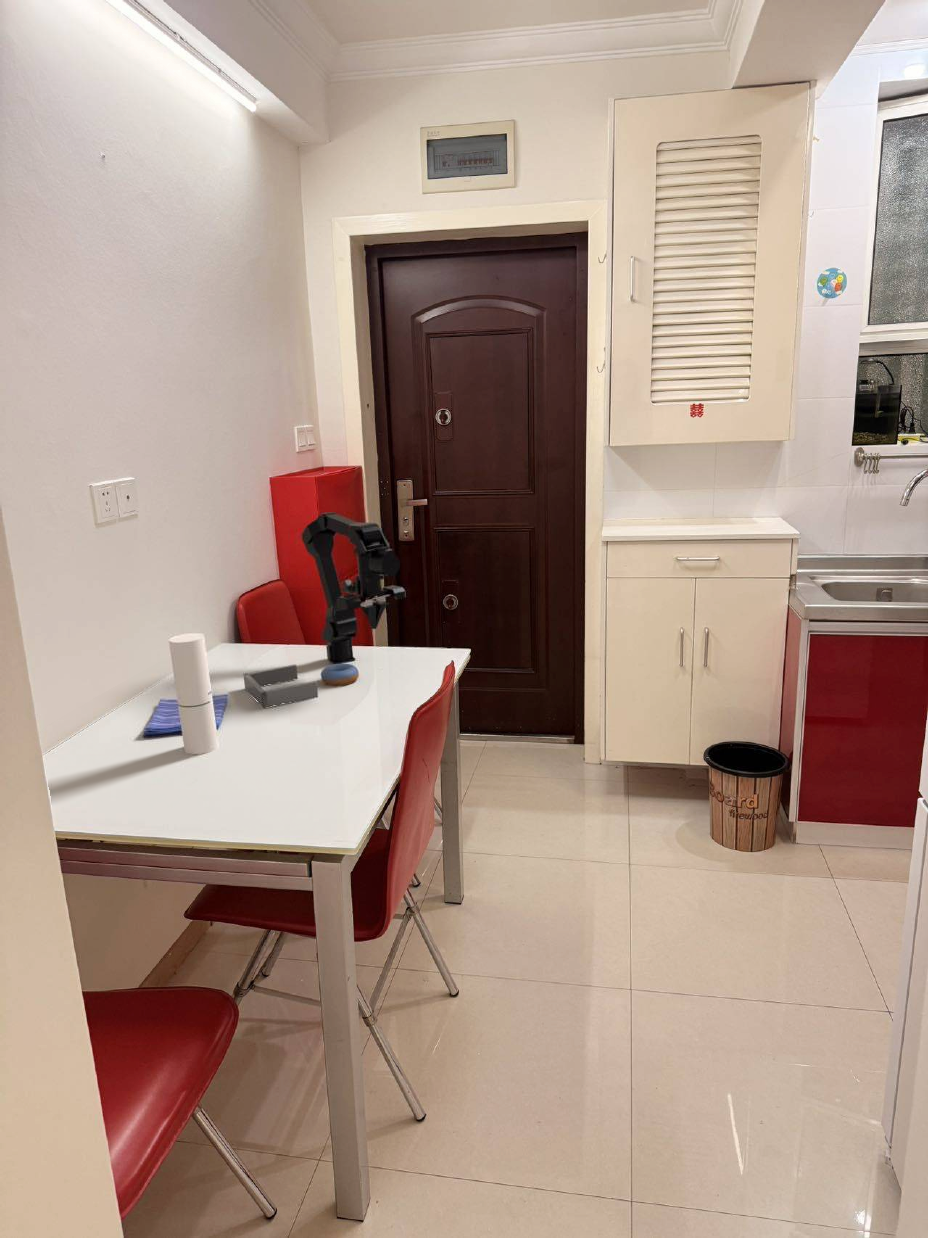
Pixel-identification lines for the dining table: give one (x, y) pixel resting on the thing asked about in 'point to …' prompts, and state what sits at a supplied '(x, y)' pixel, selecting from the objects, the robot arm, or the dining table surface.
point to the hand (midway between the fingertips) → (374, 628)
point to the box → (280, 694)
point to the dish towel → (178, 717)
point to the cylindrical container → (194, 693)
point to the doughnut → (339, 674)
